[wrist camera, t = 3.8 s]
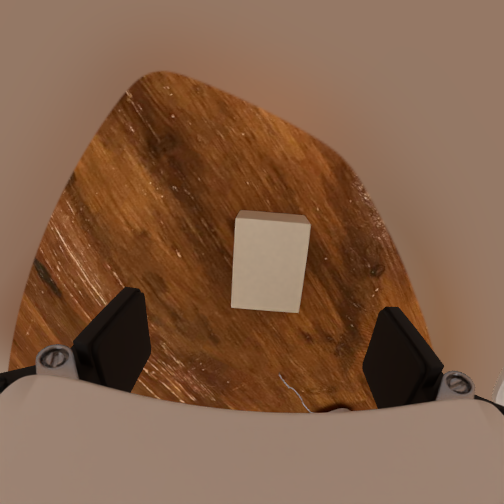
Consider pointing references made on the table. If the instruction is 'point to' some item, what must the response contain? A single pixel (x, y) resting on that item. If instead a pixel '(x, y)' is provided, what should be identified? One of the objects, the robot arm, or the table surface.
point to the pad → (269, 260)
